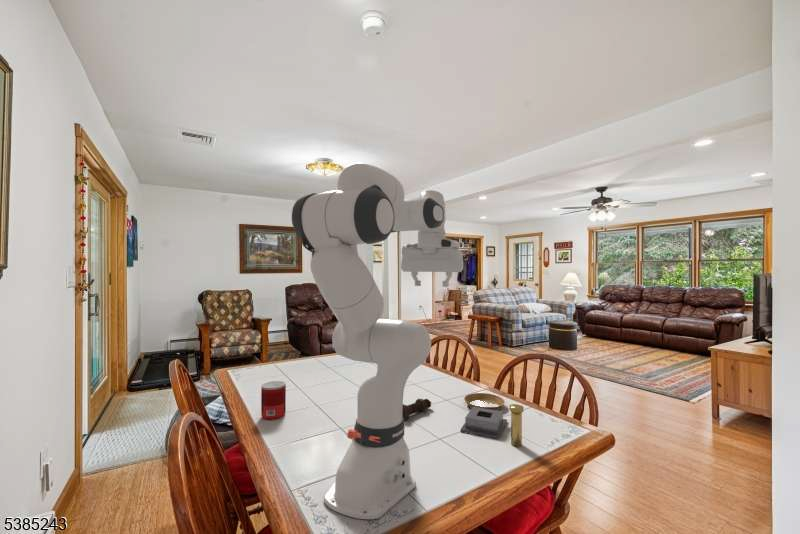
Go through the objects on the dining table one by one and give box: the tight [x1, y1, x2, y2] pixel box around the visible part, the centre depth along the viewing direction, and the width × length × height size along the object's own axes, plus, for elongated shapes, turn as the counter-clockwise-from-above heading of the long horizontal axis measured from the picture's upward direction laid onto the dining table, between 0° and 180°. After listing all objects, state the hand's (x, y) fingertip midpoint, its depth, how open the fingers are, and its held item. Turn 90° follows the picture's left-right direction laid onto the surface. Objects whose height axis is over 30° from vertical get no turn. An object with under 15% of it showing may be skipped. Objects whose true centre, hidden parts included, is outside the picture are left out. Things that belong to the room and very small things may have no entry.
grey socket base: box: [460, 407, 508, 441], centre depth 119 cm, size 14×12×4 cm
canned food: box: [260, 380, 287, 421], centre depth 127 cm, size 8×8×11 cm
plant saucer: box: [463, 392, 506, 411], centre depth 137 cm, size 15×15×3 cm
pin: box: [508, 403, 525, 448], centre depth 107 cm, size 4×4×11 cm
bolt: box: [402, 398, 432, 422], centre depth 129 cm, size 6×5×15 cm
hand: (431, 286), depth 117 cm, fingers open, 8 cm apart
